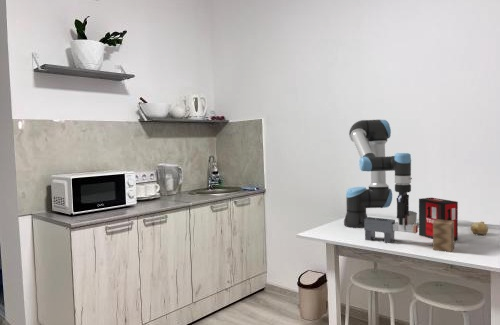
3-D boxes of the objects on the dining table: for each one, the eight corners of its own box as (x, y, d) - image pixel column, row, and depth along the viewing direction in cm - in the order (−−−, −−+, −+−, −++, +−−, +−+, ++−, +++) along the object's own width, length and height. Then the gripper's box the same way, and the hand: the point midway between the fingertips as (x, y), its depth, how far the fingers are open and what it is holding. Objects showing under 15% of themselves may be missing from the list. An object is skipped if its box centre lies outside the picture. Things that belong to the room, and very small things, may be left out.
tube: (372, 228, 196) (372, 212, 196) (375, 226, 200) (375, 211, 200) (415, 233, 183) (415, 216, 183) (418, 231, 187) (417, 214, 187)
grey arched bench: (364, 239, 198) (363, 219, 198) (368, 236, 204) (368, 216, 203) (391, 243, 190) (391, 222, 189) (395, 240, 195) (395, 219, 195)
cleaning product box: (457, 240, 192) (457, 201, 191) (444, 242, 189) (444, 203, 188) (431, 233, 208) (431, 197, 206) (419, 235, 204) (418, 198, 203)
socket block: (433, 249, 177) (433, 222, 177) (436, 245, 184) (436, 219, 184) (450, 252, 173) (450, 224, 172) (454, 247, 180) (454, 220, 179)
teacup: (407, 222, 237) (407, 209, 236) (421, 225, 227) (421, 212, 226) (389, 224, 232) (389, 211, 231) (402, 228, 222) (402, 214, 221)
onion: (483, 236, 198) (484, 223, 197) (468, 234, 204) (468, 221, 204) (490, 234, 202) (490, 221, 202) (474, 231, 209) (474, 219, 208)
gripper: (405, 186, 179) (406, 234, 180) (415, 182, 193) (415, 227, 194) (389, 185, 183) (390, 232, 184) (400, 181, 197) (400, 225, 199)
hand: (403, 229), depth 189 cm, fingers closed on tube, 5 cm apart
